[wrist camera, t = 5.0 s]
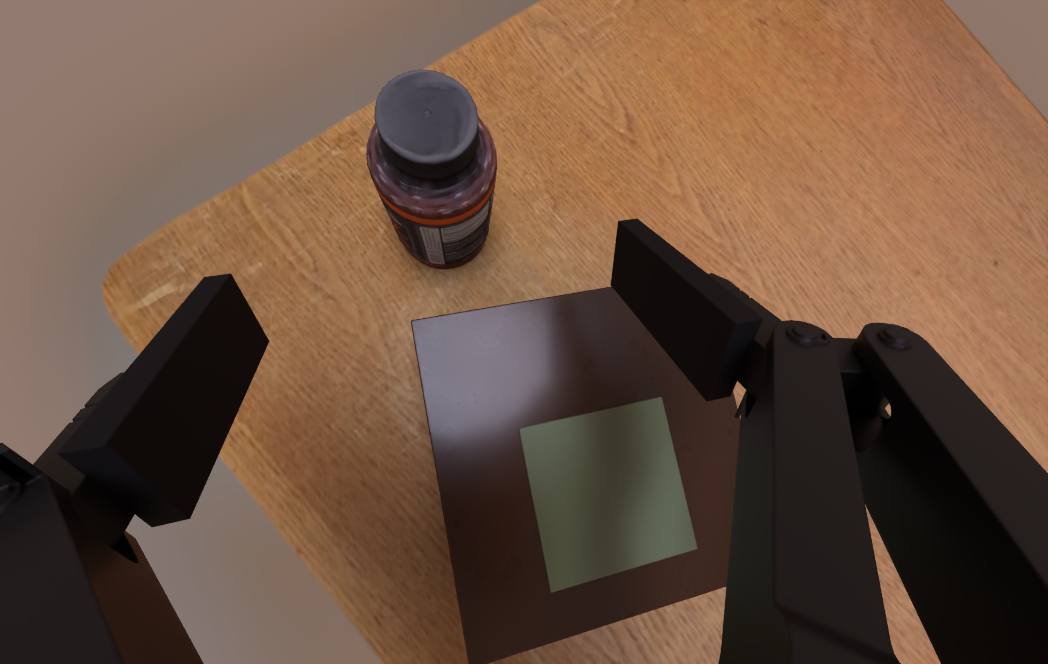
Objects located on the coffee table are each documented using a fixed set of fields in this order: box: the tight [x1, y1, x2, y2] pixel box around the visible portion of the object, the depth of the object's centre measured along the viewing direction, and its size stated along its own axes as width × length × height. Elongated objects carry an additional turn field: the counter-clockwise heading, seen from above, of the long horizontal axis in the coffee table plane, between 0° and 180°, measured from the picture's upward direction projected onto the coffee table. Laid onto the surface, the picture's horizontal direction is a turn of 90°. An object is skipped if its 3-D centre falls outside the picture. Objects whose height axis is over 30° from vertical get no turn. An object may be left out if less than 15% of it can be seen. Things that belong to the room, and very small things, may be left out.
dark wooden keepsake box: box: [411, 287, 740, 664], centre depth 22 cm, size 16×16×6 cm
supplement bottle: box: [366, 70, 497, 268], centre depth 21 cm, size 6×6×11 cm
